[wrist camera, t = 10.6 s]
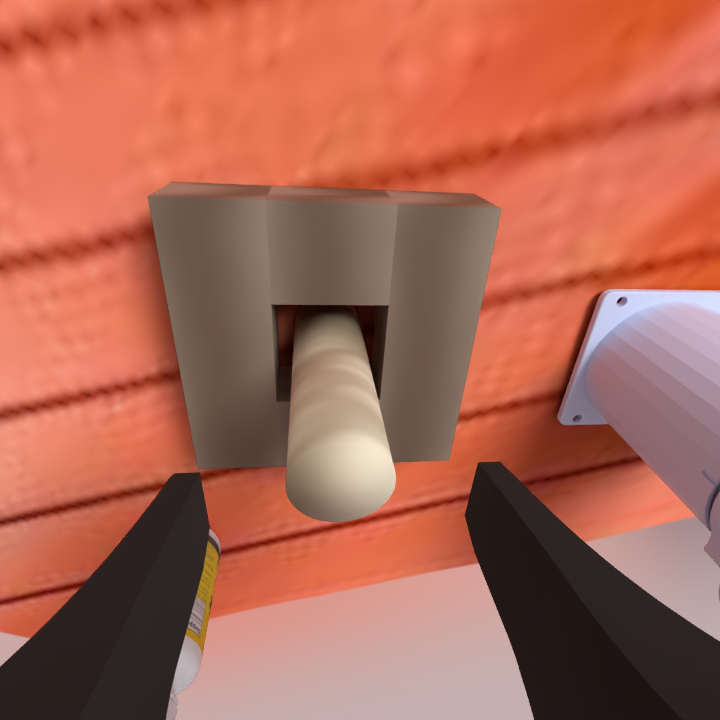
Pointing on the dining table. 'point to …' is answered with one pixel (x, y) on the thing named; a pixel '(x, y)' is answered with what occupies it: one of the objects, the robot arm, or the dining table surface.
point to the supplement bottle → (196, 626)
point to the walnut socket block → (319, 287)
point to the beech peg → (335, 420)
